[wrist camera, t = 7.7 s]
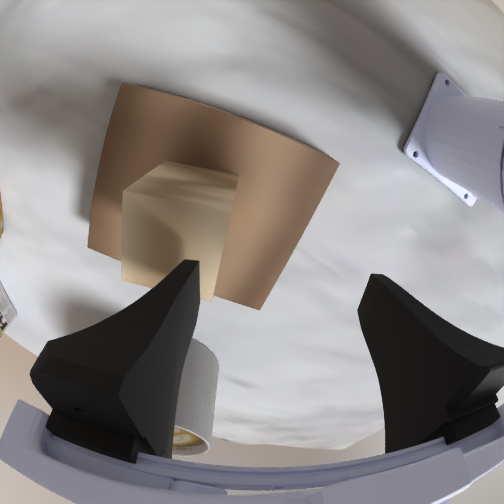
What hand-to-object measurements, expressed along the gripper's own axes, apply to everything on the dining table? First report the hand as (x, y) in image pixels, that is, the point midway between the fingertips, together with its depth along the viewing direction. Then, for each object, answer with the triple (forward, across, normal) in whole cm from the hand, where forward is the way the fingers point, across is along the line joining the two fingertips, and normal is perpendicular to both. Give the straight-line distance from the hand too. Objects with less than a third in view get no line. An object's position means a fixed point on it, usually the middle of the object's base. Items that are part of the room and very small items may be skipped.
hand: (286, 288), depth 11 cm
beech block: (+7, +5, -1) cm, 9 cm away
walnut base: (+10, +5, 0) cm, 11 cm away
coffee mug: (+10, +10, +19) cm, 24 cm away
